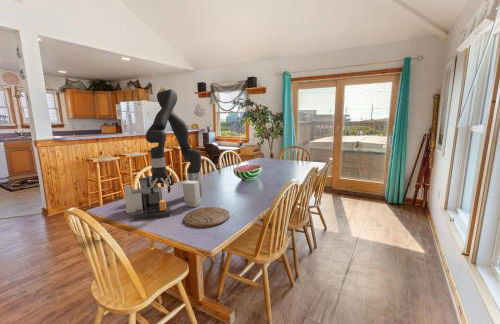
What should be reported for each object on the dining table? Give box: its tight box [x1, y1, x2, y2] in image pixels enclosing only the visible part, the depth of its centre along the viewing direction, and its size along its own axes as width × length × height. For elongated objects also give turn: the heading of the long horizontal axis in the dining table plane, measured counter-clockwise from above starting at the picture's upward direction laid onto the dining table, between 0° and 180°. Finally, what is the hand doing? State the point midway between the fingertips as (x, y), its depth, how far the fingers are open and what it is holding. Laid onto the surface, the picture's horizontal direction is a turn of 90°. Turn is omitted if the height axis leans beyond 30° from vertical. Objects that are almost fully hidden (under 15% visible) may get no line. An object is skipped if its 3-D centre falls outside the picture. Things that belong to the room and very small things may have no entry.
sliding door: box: [123, 184, 143, 214], centre depth 147 cm, size 9×2×16 cm, turn 103°
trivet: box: [183, 206, 230, 229], centre depth 139 cm, size 25×25×2 cm
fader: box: [159, 199, 167, 211], centre depth 145 cm, size 3×4×5 cm
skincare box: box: [182, 180, 202, 208], centre depth 158 cm, size 8×7×16 cm
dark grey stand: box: [127, 186, 163, 216], centre depth 153 cm, size 18×12×12 cm
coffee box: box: [139, 175, 157, 189], centre depth 172 cm, size 9×6×16 cm
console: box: [132, 206, 171, 221], centre depth 144 cm, size 19×8×3 cm, turn 103°
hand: (161, 193), depth 143 cm, fingers open, 8 cm apart
